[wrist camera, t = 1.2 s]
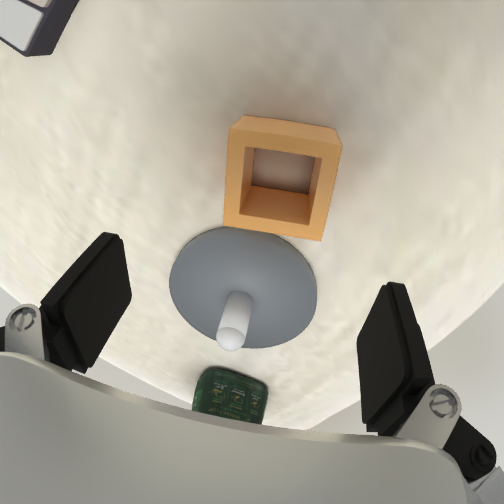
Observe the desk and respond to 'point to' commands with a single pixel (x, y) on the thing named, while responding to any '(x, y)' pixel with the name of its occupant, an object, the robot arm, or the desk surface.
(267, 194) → the collar
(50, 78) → the desk surface
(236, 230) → the post stand
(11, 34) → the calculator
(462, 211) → the desk surface
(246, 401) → the coffee jar
